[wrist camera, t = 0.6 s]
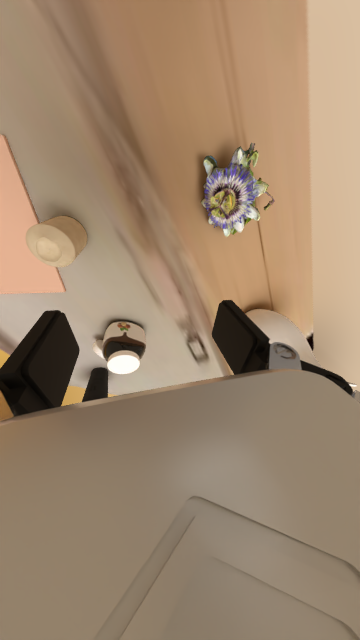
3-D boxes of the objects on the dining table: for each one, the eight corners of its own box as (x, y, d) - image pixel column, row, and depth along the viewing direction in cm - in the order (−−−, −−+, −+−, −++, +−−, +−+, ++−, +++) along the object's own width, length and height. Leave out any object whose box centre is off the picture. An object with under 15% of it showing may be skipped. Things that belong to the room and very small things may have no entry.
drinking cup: (117, 373, 55) (111, 442, 40) (96, 381, 55) (83, 453, 40) (104, 361, 50) (92, 436, 35) (81, 370, 50) (60, 448, 35)
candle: (49, 209, 26) (14, 218, 18) (88, 222, 28) (71, 235, 20) (52, 245, 29) (24, 265, 21) (87, 254, 31) (72, 275, 23)
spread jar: (147, 323, 45) (151, 356, 36) (135, 350, 50) (135, 384, 41) (101, 313, 39) (92, 349, 31) (92, 344, 45) (83, 382, 36)
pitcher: (226, 311, 48) (297, 404, 28) (277, 293, 49) (386, 372, 28) (227, 355, 64) (274, 436, 43) (266, 342, 65) (331, 416, 44)
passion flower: (197, 200, 34) (186, 160, 23) (248, 164, 30) (265, 96, 19) (219, 250, 35) (219, 236, 24) (270, 221, 32) (299, 189, 20)
